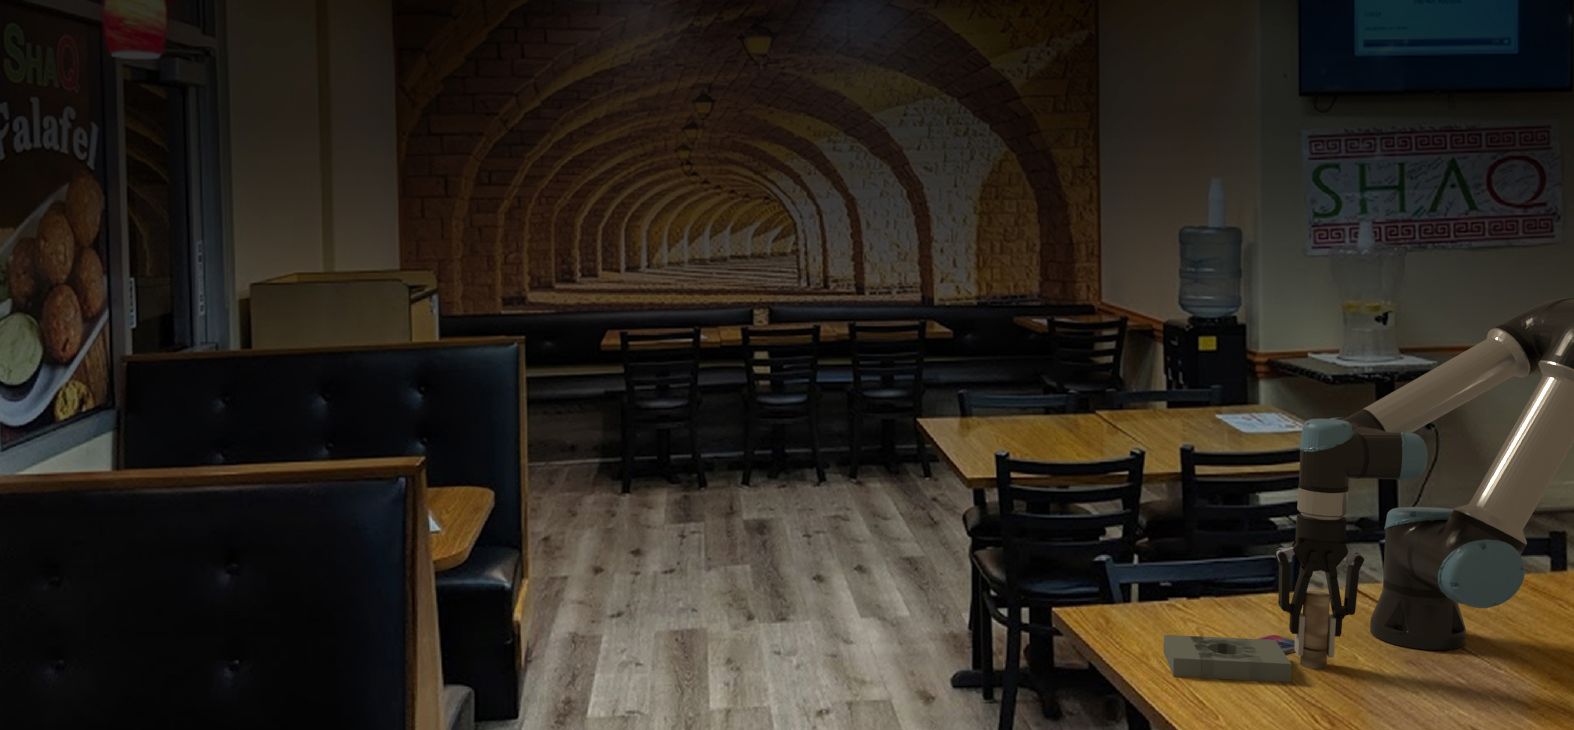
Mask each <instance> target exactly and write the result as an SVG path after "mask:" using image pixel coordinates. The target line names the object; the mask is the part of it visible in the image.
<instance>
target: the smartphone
mask: <svg viewBox="0 0 1574 730" xmlns="http://www.w3.org/2000/svg"><path fill="white" fill-rule="evenodd" d="M1257 639H1266V640H1276V642H1277V643H1278V645H1279V646H1280V648H1281V649H1282V651H1283V652H1284V654H1285V655H1288V654H1291V653H1296V652H1295V650H1294V647H1295V639H1291V638H1289V637H1286V636H1282V635H1277V634H1269V635H1266V636H1263V637H1259V638H1257Z"/></svg>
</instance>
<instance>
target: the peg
mask: <svg viewBox="0 0 1574 730" xmlns="http://www.w3.org/2000/svg"><path fill="white" fill-rule="evenodd" d="M1330 607H1331V603H1330V595H1329V593H1327V592H1324V591H1318V590H1307V592H1306V596H1305V599H1304V603H1303V606H1302V614H1303V615H1304V616H1305V628H1304V646H1303V656H1300V660H1299V661H1300V662H1299V665H1300V666H1302V667H1303V668H1305V669H1309V670H1310V669H1311V670H1325V669H1327V663H1328V662H1327V661H1328V660H1327V659H1328V656H1327V650H1328V646H1327V645H1328V625H1329V614H1330Z"/></svg>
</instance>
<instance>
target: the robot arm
mask: <svg viewBox="0 0 1574 730" xmlns="http://www.w3.org/2000/svg"><path fill="white" fill-rule="evenodd" d="M1539 370H1540V372H1541V374H1542V377H1541V379H1540V381H1539V382H1538V384H1537V386H1536V387H1535V390H1534V391H1533V393H1532V394H1531V396H1530V398H1529V399H1528V401H1527V403H1526V404H1525V406H1524V408H1523V410H1522V412H1521V413H1520V415H1519V417H1518V418H1517V420H1516V423H1515V424H1514V425H1513V428H1511V431H1510V433H1509V434H1508V436H1507V438H1506V440H1505V441H1504V442H1503V445H1502V446H1501V448H1500V450H1499V451H1498V453H1497V455H1496V457H1495V458H1494V460H1493V462H1492V463H1491V465H1490V467H1489V468H1488V470H1487V472H1486V473H1485V476H1484V477H1483V479H1482V480H1481V482H1480V485H1479V486H1478V488H1477V489H1476V491H1475V492H1474V495H1473V497H1471V500H1470V501H1469V502H1468V504H1465V505H1460V506H1457V507H1454V508H1447V507H1432V506H1431V507H1427V506H1402V507H1395V508H1394V507H1393V508H1392V509H1389V511H1388V512H1387V514H1386V520H1385V525H1384V552H1383V553H1384V555H1383V556H1384V559H1383V577H1382V578H1383V582H1382V591H1381V594H1380V595H1379V598H1378V601H1377V602H1376V605H1375V607H1374V609H1373V612H1372V614H1371V617H1370V621H1369V622H1370V623H1369V625H1370V626H1369V627H1370V628H1369V632H1370V633H1371V635H1372V636H1373V637H1375V638H1376V639H1379V640H1381V641H1384V642H1387V643H1389V644H1391V645H1392V644H1393V645H1397V646H1401V647H1406V648H1411V649H1416V650H1417V649H1418V650H1428V651H1429V650H1431V651H1445V650H1454V649H1459V648H1462V647H1464V646H1465V645H1466V643H1467V628H1466V625H1465V622H1464V619H1463V615H1462V611H1461V608H1460V605H1459V604H1461V605H1465V606H1468V607H1471V608H1476V609H1488V608H1494V607H1498V606H1500V605H1503V604H1504V603H1506V602H1507V601H1509V600H1511V599H1512V598H1513V597H1514V596H1515V594H1517V592H1518V591H1520V588H1521V586H1522V584H1523V583H1524V579H1525V574H1526V569H1525V568H1524V564H1525V563H1524V560H1523V558H1522V556H1521V555H1522V554H1523V552H1524V550H1525V549H1526V546H1528V545H1527V544H1528V542H1527V539H1526V536H1525V534H1524V530H1525V529H1524V528H1525V527H1526V526H1527V523H1528V522H1529V521H1530V519H1531V517H1532V515H1533V513H1534V511H1535V510H1536V508H1537V506H1538V505H1539V503H1540V501H1541V500H1542V498H1543V496H1544V494H1545V493H1546V492H1547V489H1548V487H1549V485H1550V484H1551V482H1552V481H1553V479H1554V477H1555V476H1556V473H1557V472H1558V471H1559V468H1560V467H1561V465H1562V463H1563V462H1564V460H1565V458H1566V456H1567V455H1568V453H1569V452H1570V450H1571V448H1572V446H1573V444H1574V298H1571V297H1570V298H1569V297H1567V298H1566V297H1562V298H1557V299H1551V300H1548V301H1545V302H1542V303H1539V304H1537V305H1536V306H1533V307H1531V308H1529V309H1527V310H1524V311H1523V312H1521V313H1519V314H1517V315H1515V316H1513V317H1510V319H1507V320H1505V321H1504V322H1502V323H1500V324H1498V325H1497V326H1495V327H1493V328H1492V329H1490V330H1489V331H1488V333H1487V335H1486V338H1485V339H1484V340H1483V341H1481V342H1479V343H1477V344H1476V345H1473V346H1472V347H1471V348H1469V349H1467V350H1465V351H1463V352H1461V353H1460V354H1458V355H1456V356H1454V357H1453V358H1451V359H1449V360H1447V361H1446V362H1443V363H1442V364H1440V365H1438V366H1436V367H1435V368H1432V369H1431V370H1430V371H1428V372H1425V373H1424V374H1423V375H1420V376H1419V377H1417V378H1415V379H1414V380H1412V381H1410V382H1409V383H1406V384H1404V385H1403V386H1401V387H1400V388H1397V389H1396V390H1394V391H1392V392H1390V393H1389V394H1386V395H1385V396H1384V397H1382V398H1380V399H1378V400H1376V401H1374V402H1372V403H1371V404H1370V405H1369V404H1368V405H1367V406H1366V407H1363V408H1362V409H1360V410H1359V411H1357V412H1354V413H1353V414H1351V415H1349V416H1348V417H1343V416H1342V417H1331V418H1312V419H1308V420H1306V421H1305V422H1304V423H1303V424H1302V428H1301V429H1302V430H1301V435H1300V444H1299V477H1298V489H1297V491H1298V492H1297V504H1296V505H1297V506H1296V507H1297V508H1296V509H1297V510H1298V514H1296V523H1295V524H1296V525H1295V526H1296V527H1295V539H1294V542H1293V543H1292V544H1291V547H1288V548H1285V549H1284V548H1283V549H1281V548H1278V549H1276V550H1275V557H1276V558H1277V561H1278V601H1277V603H1278V606H1279V608H1280V609H1281V611H1283V612H1286V613H1289V625H1288V626H1289V627H1288V629H1289V631H1290V634H1292V635H1294V640H1295V647H1294V650H1295V652H1294V653H1295V654H1297V656H1303V646H1304V628H1305V616H1304V615H1303V612H1302V611H1303V603H1304V599H1305V596H1306V592H1307V591H1308V588H1309V585H1310V581H1311V578H1312V577H1313V573H1314V572H1319V571H1321V572H1324V573H1325V578H1326V585H1327V588H1328V589H1327V591H1328V594H1329V595H1330V609H1331V612H1332V613H1329V625H1328V645H1327V646H1328V650H1327V658H1334V657H1335V639H1336V638H1335V637H1341V636H1342V630H1343V620H1344V619H1345V617H1346V616H1354V614H1355V613H1356V609H1357V608H1356V607H1357V596H1358V589H1359V588H1358V587H1359V576H1360V570H1361V568H1362V566H1363V564H1364V562H1365V558H1364V557H1363V556H1362V555H1361V554H1360V553H1358V552H1353V551H1351V550H1349V549H1348V547H1347V544H1346V539H1347V537H1346V536H1347V519H1346V517H1345V516H1346V515H1347V514H1348V503H1349V488H1350V487H1349V485H1350V479H1351V480H1352V479H1353V480H1360V479H1362V480H1363V479H1366V480H1373V479H1374V480H1375V479H1376V480H1397V481H1401V480H1407V479H1408V480H1410V479H1412V480H1413V479H1417V478H1419V477H1420V476H1422V475H1423V474H1424V473H1425V471H1426V468H1427V466H1428V456H1429V455H1428V448H1427V445H1426V443H1425V441H1424V439H1423V438H1422V437H1421V436H1420V435H1418V434H1417V433H1415V432H1416V431H1417V430H1420V429H1421V428H1423V427H1425V426H1426V425H1428V424H1429V423H1432V422H1434V421H1435V420H1437V419H1438V418H1441V417H1443V416H1444V415H1446V414H1448V413H1449V412H1451V411H1453V410H1456V409H1457V408H1458V407H1461V406H1462V405H1465V404H1466V403H1468V402H1469V401H1471V400H1474V399H1475V398H1476V397H1478V396H1481V395H1482V394H1484V393H1485V392H1488V391H1489V390H1491V389H1493V388H1495V387H1496V386H1499V385H1500V384H1503V383H1504V382H1506V381H1507V380H1509V379H1510V378H1513V377H1516V378H1521V379H1522V378H1525V377H1528V376H1529V375H1531V374H1532V373H1534V372H1537V371H1539ZM1294 555H1295V556H1296V557H1297V560H1298V561H1299V562H1300V566H1299V574H1298V577H1297V580H1296V584H1295V587H1294V591H1293V594H1292V597H1290V591H1291V589H1290V588H1291V587H1290V586H1291V585H1290V583H1291V567H1290V566H1291V565H1290V563H1291V562H1292V561H1293V556H1294ZM1344 559H1346V560H1345V561H1346V564H1347V567H1346V578H1345V586H1344V587H1345V589H1344V599H1343V603H1342V596H1341V592H1340V591H1341V590H1340V586H1339V580H1338V578H1339V576H1338V569H1337V567H1338V566H1339V565H1340V563H1342V561H1343V560H1344ZM1290 598H1291V601H1290Z"/></svg>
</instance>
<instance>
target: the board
mask: <svg viewBox="0 0 1574 730" xmlns="http://www.w3.org/2000/svg"><path fill="white" fill-rule="evenodd" d="M1163 654H1164V657H1165V659H1166V662H1167V664H1168V668H1170V672H1171V674H1172V676H1173V677H1178V678H1179V677H1181V678H1182V677H1183V678H1200V679H1201V678H1202V679H1218V680H1219V679H1220V680H1221V679H1222V680H1240V681H1259V682H1275V683H1276V682H1279V683H1291V681H1292V662H1291V661H1290V659H1289V658H1288V656H1287V654H1284V652H1283V651H1282V649H1281V648H1280V646H1279V645H1278V643H1277V642H1276V640H1266V639H1258V638H1243V637H1240V638H1238V637H1219V636H1197V635H1194V636H1193V635H1178V634H1173V635H1172V634H1163Z"/></svg>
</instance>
